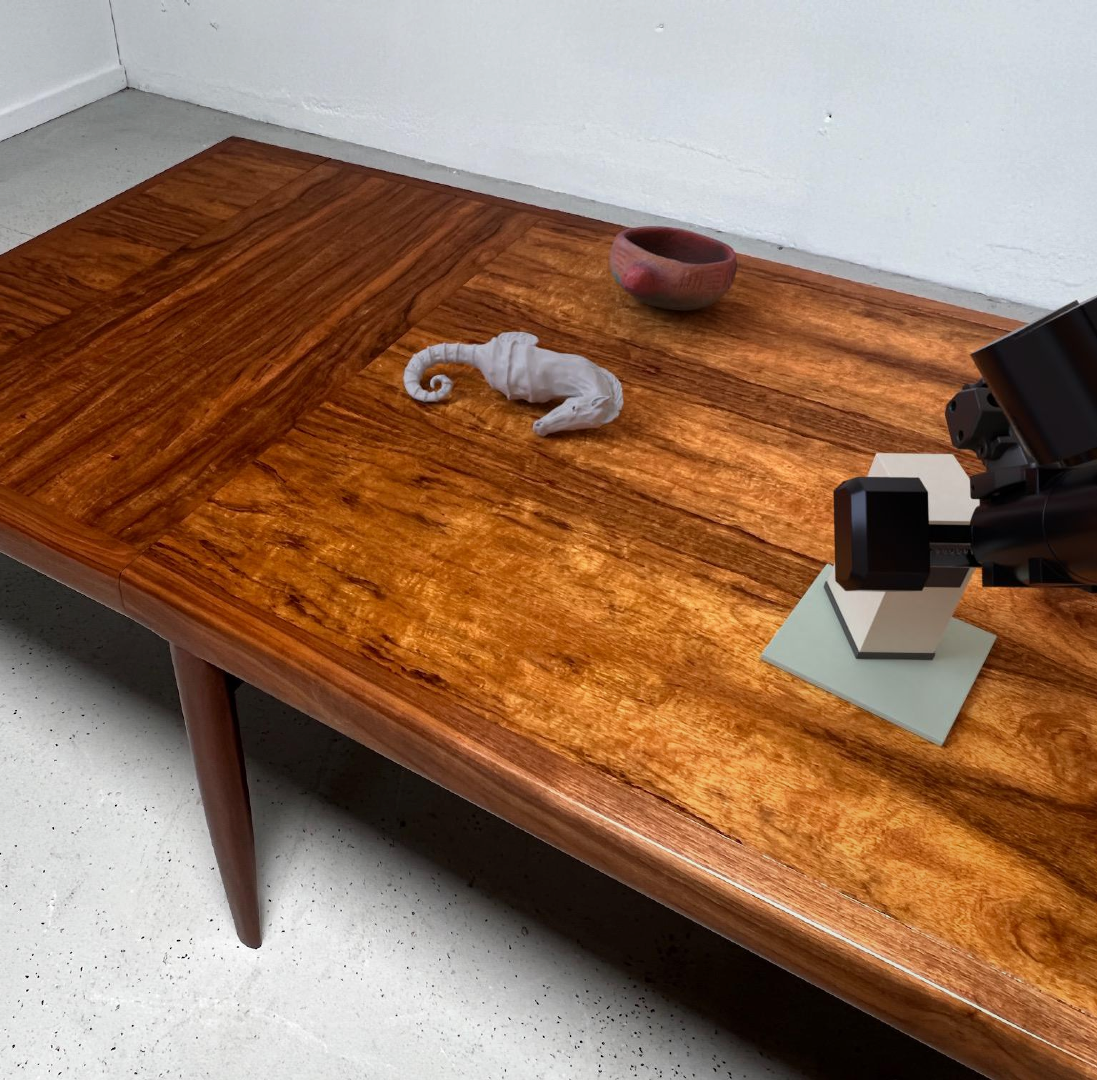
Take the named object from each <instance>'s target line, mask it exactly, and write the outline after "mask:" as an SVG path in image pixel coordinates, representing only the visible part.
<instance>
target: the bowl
mask: <svg viewBox="0 0 1097 1080" xmlns="http://www.w3.org/2000/svg"><path fill="white" fill-rule="evenodd" d="M609 267H610V272H611V275H612V277H613V278H614V280H615V282H616V283H617V284H618V285H619V286H620V287H621V289H623V290H624V291H625V292H626V293H627V294H629V295H631V296H632V297H633V298H635V299H636V300H638V301H640V302H642V303H643V304H645V305H648V306H651V307H655V308H659V309H664V310H669V311H670V310H672V311H694V310H698V309H699V310H700V309H704V308H707V307H708V306H711V305H713V304H715V303H717V302H718V301H720V300H721V299H722V298H723V297H724V296H725V295H726V294H727V293H728V292H729V290H730V289H731V287H732V285H733V283H734V281H735V278H736V275H737V269H738V262H737V254H736V252H735V250H734V248H733V247H732V246H730V245H729V244H727V243H725V242H723V241H720V240H718V239H716V238H713V237H710V236H706V235H704V234H700V233H697V232H694V231H692V230H687V229H685V228H680V227H672V226H665V225H645V226H636V227H631V228H627V229H624V230H622V231H620V232H619V233H617V234H616V235H615V237H614V239H613V242H612V244H611V249H610V253H609Z"/></svg>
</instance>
